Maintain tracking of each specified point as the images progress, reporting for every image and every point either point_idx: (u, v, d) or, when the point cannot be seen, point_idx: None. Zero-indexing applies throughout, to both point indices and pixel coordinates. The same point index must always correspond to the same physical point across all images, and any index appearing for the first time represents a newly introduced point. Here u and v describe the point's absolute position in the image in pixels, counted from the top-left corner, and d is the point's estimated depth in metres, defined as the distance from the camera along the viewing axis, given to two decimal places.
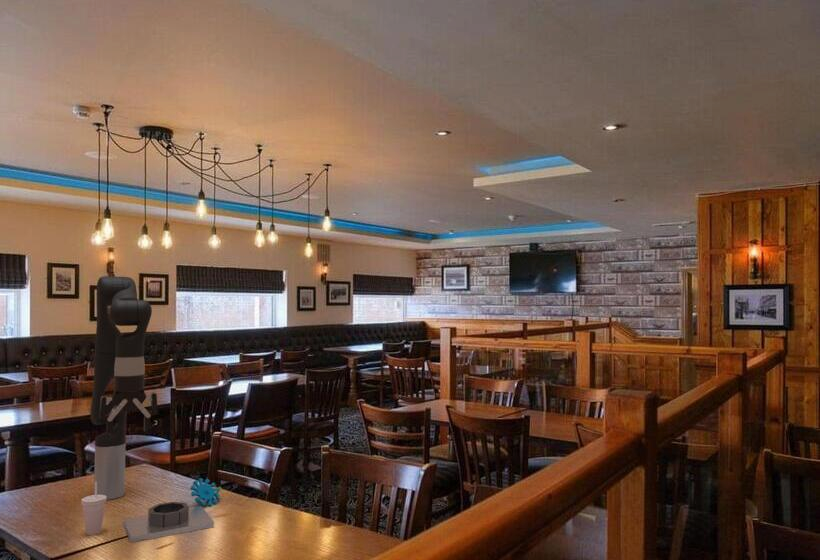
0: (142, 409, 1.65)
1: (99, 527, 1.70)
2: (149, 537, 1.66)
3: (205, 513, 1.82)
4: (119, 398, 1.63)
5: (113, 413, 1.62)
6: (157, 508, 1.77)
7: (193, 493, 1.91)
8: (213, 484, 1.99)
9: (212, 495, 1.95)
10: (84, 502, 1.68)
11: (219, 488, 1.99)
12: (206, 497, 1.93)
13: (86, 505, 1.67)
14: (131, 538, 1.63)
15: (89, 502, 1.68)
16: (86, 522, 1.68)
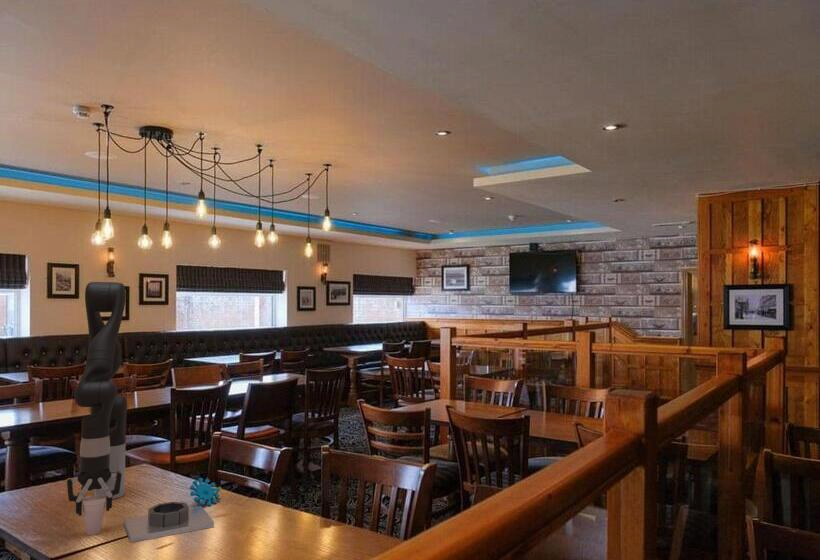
0: (105, 489, 1.71)
1: (99, 527, 1.70)
2: (149, 537, 1.66)
3: (205, 513, 1.82)
4: (84, 477, 1.68)
5: (81, 494, 1.68)
6: (157, 508, 1.77)
7: (192, 493, 1.91)
8: (213, 484, 1.99)
9: (212, 495, 1.95)
10: (84, 502, 1.68)
11: (219, 488, 1.99)
12: (205, 497, 1.93)
13: (86, 505, 1.67)
14: (131, 538, 1.63)
15: (89, 502, 1.68)
16: (86, 522, 1.68)
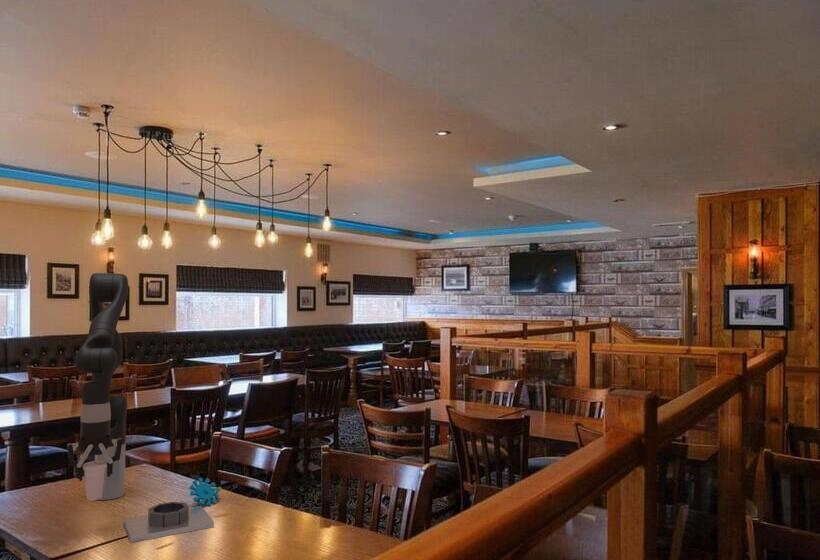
0: (106, 454, 1.71)
1: (100, 493, 1.70)
2: (149, 537, 1.66)
3: (205, 513, 1.82)
4: (85, 443, 1.69)
5: (81, 459, 1.68)
6: (157, 508, 1.77)
7: (192, 492, 1.91)
8: (213, 484, 1.99)
9: (211, 495, 1.95)
10: (85, 467, 1.68)
11: (219, 488, 1.99)
12: (205, 497, 1.93)
13: (87, 470, 1.68)
14: (131, 538, 1.63)
15: (90, 467, 1.68)
16: (87, 487, 1.69)
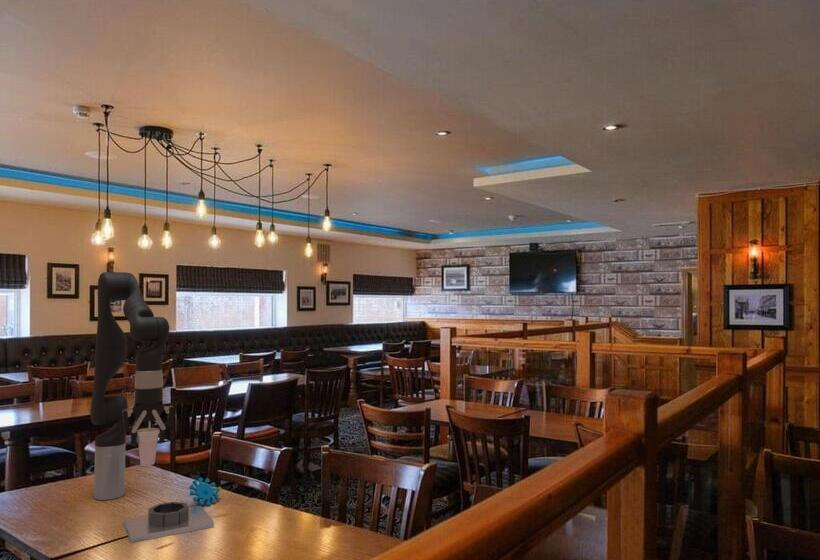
0: (159, 421, 1.75)
1: (153, 458, 1.74)
2: (149, 537, 1.66)
3: (205, 513, 1.82)
4: (139, 409, 1.73)
5: (136, 425, 1.72)
6: (157, 508, 1.77)
7: (191, 492, 1.92)
8: (213, 484, 1.99)
9: (211, 495, 1.95)
10: (139, 433, 1.72)
11: (219, 488, 1.99)
12: (204, 497, 1.93)
13: (141, 435, 1.72)
14: (131, 538, 1.63)
15: (144, 433, 1.72)
16: (141, 453, 1.73)
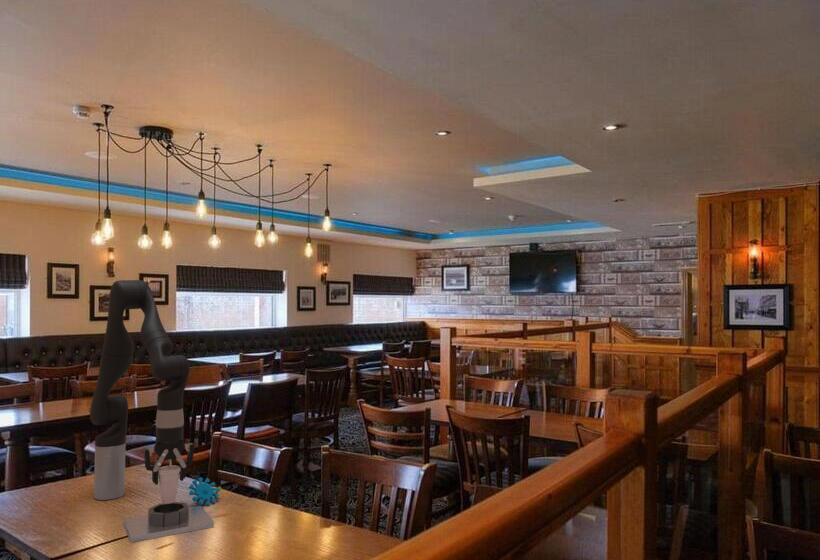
0: (180, 459, 1.77)
1: (174, 496, 1.76)
2: (149, 537, 1.66)
3: (205, 513, 1.82)
4: (160, 448, 1.74)
5: (157, 464, 1.74)
6: (157, 508, 1.77)
7: (191, 492, 1.92)
8: (213, 484, 1.99)
9: (211, 495, 1.96)
10: (161, 472, 1.74)
11: (219, 488, 1.99)
12: (204, 496, 1.94)
13: (163, 474, 1.73)
14: (131, 538, 1.63)
15: (165, 471, 1.73)
16: (162, 491, 1.74)
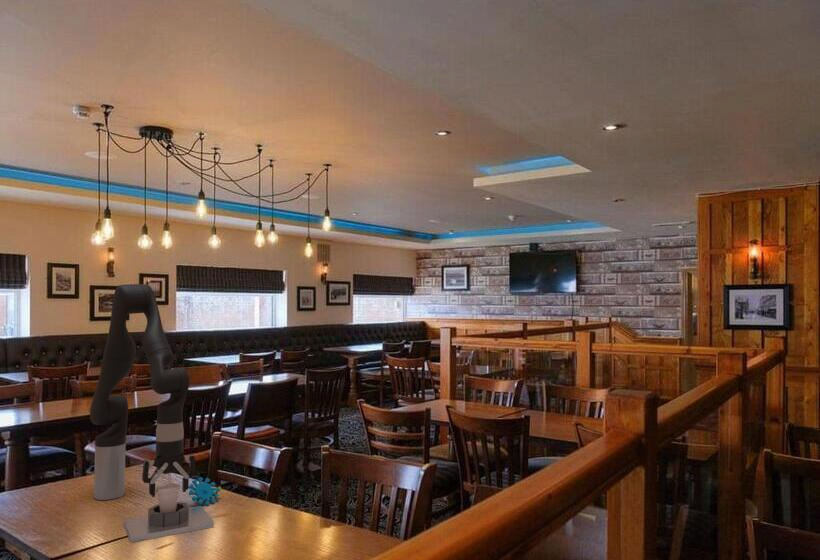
0: (181, 471, 1.77)
1: None
2: (149, 537, 1.66)
3: (205, 513, 1.82)
4: (160, 462, 1.74)
5: (155, 476, 1.73)
6: (157, 508, 1.77)
7: (190, 492, 1.92)
8: (213, 483, 1.99)
9: (211, 495, 1.96)
10: (160, 491, 1.73)
11: (219, 488, 1.99)
12: (204, 496, 1.94)
13: (162, 493, 1.73)
14: (131, 538, 1.63)
15: (165, 491, 1.73)
16: (162, 510, 1.74)
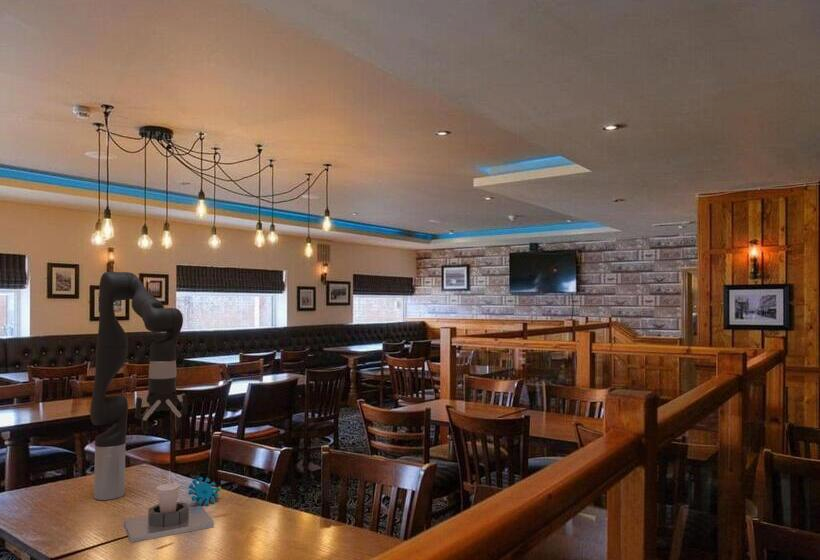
0: (174, 409, 1.78)
1: None
2: (149, 537, 1.66)
3: (205, 513, 1.82)
4: (153, 399, 1.76)
5: (148, 413, 1.75)
6: (157, 508, 1.77)
7: (190, 492, 1.92)
8: (213, 483, 1.99)
9: (210, 495, 1.96)
10: (160, 490, 1.73)
11: (219, 488, 2.00)
12: (203, 496, 1.94)
13: (162, 493, 1.73)
14: (131, 538, 1.63)
15: (165, 490, 1.73)
16: (162, 510, 1.74)
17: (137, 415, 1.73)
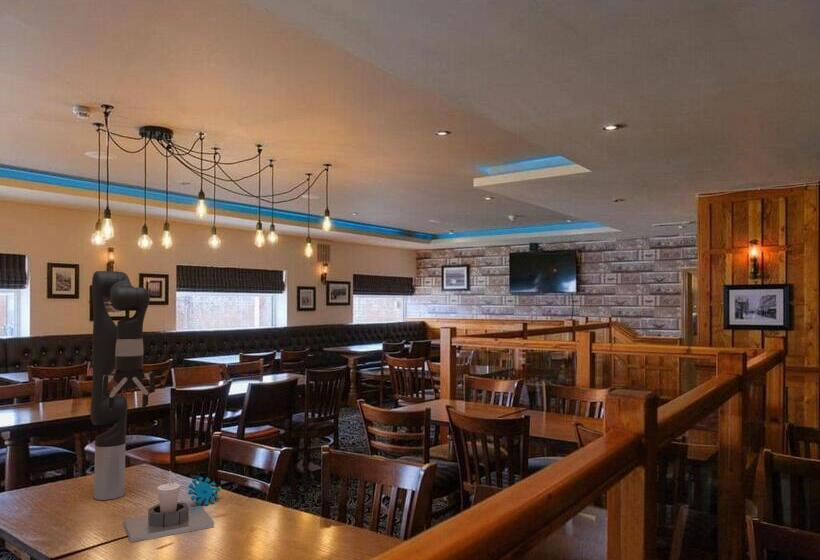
0: (141, 387, 1.81)
1: None
2: (149, 537, 1.66)
3: (205, 513, 1.82)
4: (120, 376, 1.78)
5: (114, 390, 1.77)
6: (157, 508, 1.77)
7: (190, 491, 1.93)
8: (213, 483, 2.00)
9: (210, 495, 1.96)
10: (160, 490, 1.73)
11: (219, 488, 2.00)
12: (203, 496, 1.94)
13: (163, 493, 1.73)
14: (131, 538, 1.63)
15: (165, 490, 1.73)
16: (162, 510, 1.74)
17: (104, 392, 1.76)
